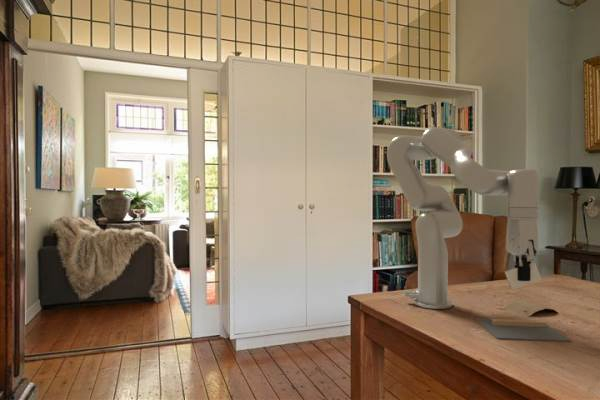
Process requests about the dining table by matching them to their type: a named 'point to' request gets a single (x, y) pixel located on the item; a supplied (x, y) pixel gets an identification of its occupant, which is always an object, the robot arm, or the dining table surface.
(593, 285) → the dining table surface
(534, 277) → the tile
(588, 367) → the dining table surface
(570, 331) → the dining table surface
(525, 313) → the clay tablet
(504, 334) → the mat
